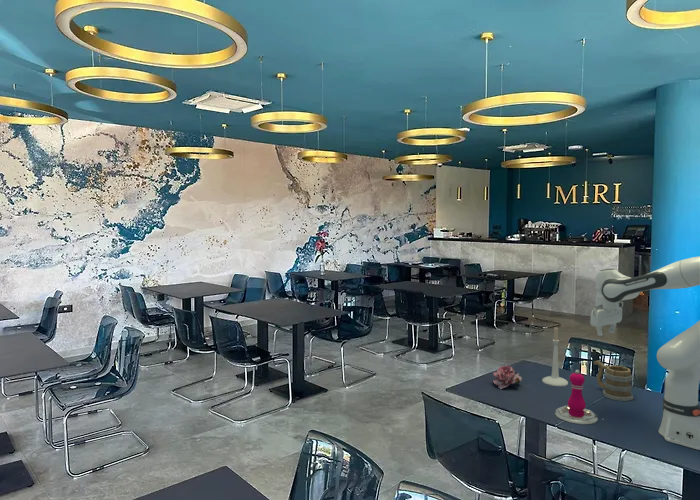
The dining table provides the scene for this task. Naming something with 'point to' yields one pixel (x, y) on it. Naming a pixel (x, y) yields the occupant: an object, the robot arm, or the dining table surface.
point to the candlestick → (555, 366)
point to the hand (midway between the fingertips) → (605, 334)
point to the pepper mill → (576, 395)
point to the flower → (506, 377)
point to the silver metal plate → (586, 419)
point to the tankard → (615, 382)
